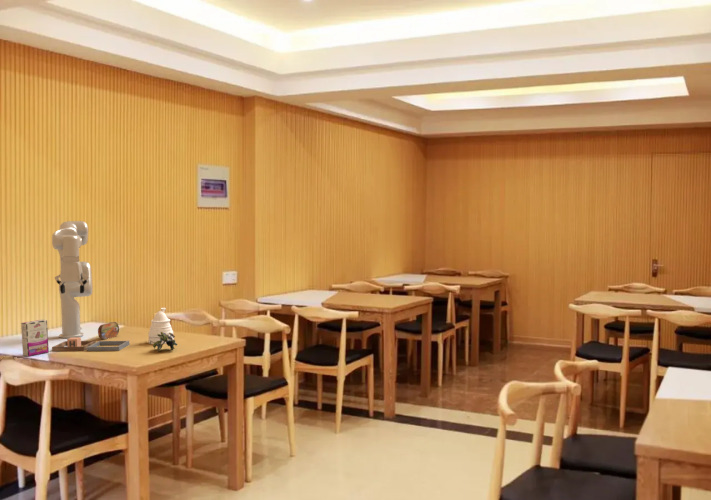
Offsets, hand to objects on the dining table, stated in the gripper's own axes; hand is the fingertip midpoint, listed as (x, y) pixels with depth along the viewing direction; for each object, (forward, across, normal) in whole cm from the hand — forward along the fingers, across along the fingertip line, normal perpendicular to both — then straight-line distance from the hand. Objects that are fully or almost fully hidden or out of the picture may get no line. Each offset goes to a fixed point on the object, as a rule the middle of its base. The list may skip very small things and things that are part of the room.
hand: (72, 293), depth 348 cm
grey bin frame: (+28, +18, -1) cm, 34 cm away
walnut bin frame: (+28, 0, 0) cm, 28 cm away
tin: (+29, +8, +27) cm, 40 cm away
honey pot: (+29, +41, +13) cm, 52 cm away
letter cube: (+28, 0, 0) cm, 28 cm away
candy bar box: (+28, -13, -15) cm, 35 cm away
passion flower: (+29, +49, -10) cm, 58 cm away
